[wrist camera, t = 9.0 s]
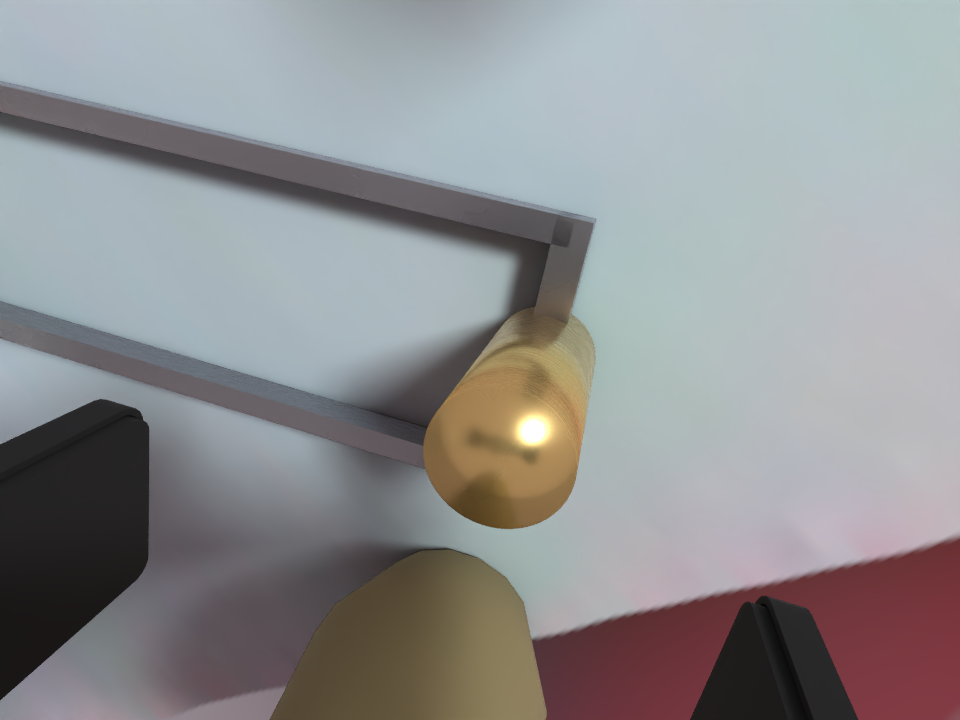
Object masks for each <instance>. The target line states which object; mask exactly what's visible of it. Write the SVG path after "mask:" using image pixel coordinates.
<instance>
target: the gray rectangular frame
mask: <svg viewBox="0 0 960 720" xmlns="http://www.w3.org/2000/svg"><path fill="white" fill-rule="evenodd" d="M0 112H3V113H7V114H12V115H16V116H20V117H24V118H28V119H32V120H37V121H41V122H45V123H49V124H53V125H57V126H62V127H66V128H70V129H74V130H78V131H82V132H87V133H91V134H95V135H99V136H103V137H107V138H111V139H116V140H120V141H124V142H128V143H132V144H136V145H141V146H145V147H149V148H153V149H157V150H161V151H166V152H170V153H174V154H178V155H182V156H186V157H191V158H195V159H199V160H203V161H207V162H211V163H216V164H220V165H224V166H228V167H232V168H236V169H241V170H245V171H249V172H253V173H257V174H261V175H265V176H270V177H274V178H278V179H282V180H286V181H290V182H295V183H299V184H303V185H307V186H311V187H315V188H320V189H324V190H328V191H332V192H336V193H340V194H345V195H349V196H353V197H357V198H361V199H365V200H370V201H374V202H378V203H382V204H386V205H390V206H395V207H399V208H403V209H407V210H411V211H415V212H419V213H424V214H428V215H432V216H436V217H440V218H444V219H449V220H453V221H457V222H461V223H465V224H469V225H474V226H478V227H482V228H486V229H490V230H494V231H499V232H503V233H507V234H511V235H515V236H519V237H524V238H528V239H532V240H536V241H540V242H544V243H548V244H550V248H549V252H548V256H547V261H546V265H545V269H544V273H543V277H542V281H541V285H540V290H539V294H538V298H537V302H536V306H534V307H530V308H526V309H523V310H521V311H519V312H517V313H515V314H514V315H512V316H511V317H510V318H509V319H508V320H506V322H505V323H504V324H503V325H502V326H501V328H500V329H499V330H498V332H497V333H496V334H495V336H494V337H493V338H492V340H491V341H490V342H489V343H488V345H487V346H486V347H485V349H484V350H483V351H482V353H481V354H480V355H479V357H478V358H477V359H476V361H475V362H474V363H473V365H472V366H471V367H470V369H469V370H468V371H467V373H466V374H465V375H464V376H463V378H462V379H461V380H460V382H459V383H458V384H457V386H456V387H455V388H454V390H453V391H452V392H451V394H450V395H449V396H448V398H447V399H446V400H445V402H444V403H443V404H442V406H441V407H440V408H439V409H438V411H437V412H436V413H435V415H434V416H433V418H432V420H431V421H430V423H429V426H428V428H425V427H422V426H418V425H415V424H412V423H408V422H405V421H402V420H398V419H395V418H391V417H388V416H385V415H381V414H378V413H375V412H371V411H368V410H365V409H361V408H358V407H354V406H351V405H348V404H344V403H341V402H338V401H334V400H331V399H327V398H324V397H321V396H317V395H314V394H311V393H307V392H304V391H300V390H297V389H294V388H290V387H287V386H284V385H280V384H277V383H274V382H270V381H267V380H263V379H260V378H257V377H253V376H250V375H247V374H243V373H240V372H236V371H233V370H230V369H226V368H223V367H220V366H216V365H213V364H209V363H206V362H203V361H199V360H196V359H193V358H189V357H186V356H183V355H179V354H176V353H172V352H169V351H166V350H162V349H159V348H156V347H152V346H149V345H145V344H142V343H139V342H135V341H132V340H129V339H125V338H122V337H118V336H115V335H112V334H108V333H105V332H102V331H98V330H95V329H92V328H88V327H85V326H81V325H78V324H75V323H71V322H68V321H65V320H61V319H58V318H54V317H51V316H48V315H44V314H41V313H38V312H34V311H31V310H28V309H24V308H21V307H17V306H14V305H11V304H7V303H4V302H1V301H0V338H2V339H5V340H8V341H11V342H15V343H18V344H21V345H24V346H28V347H31V348H34V349H37V350H41V351H44V352H47V353H50V354H54V355H57V356H60V357H63V358H67V359H70V360H73V361H76V362H80V363H83V364H86V365H89V366H93V367H96V368H99V369H102V370H106V371H109V372H112V373H115V374H119V375H122V376H125V377H128V378H132V379H135V380H138V381H141V382H145V383H148V384H151V385H154V386H158V387H161V388H164V389H167V390H171V391H174V392H177V393H180V394H184V395H187V396H190V397H193V398H197V399H200V400H203V401H206V402H210V403H213V404H216V405H219V406H223V407H226V408H229V409H232V410H236V411H239V412H242V413H245V414H249V415H252V416H255V417H258V418H262V419H265V420H268V421H271V422H275V423H278V424H281V425H284V426H288V427H291V428H294V429H297V430H301V431H304V432H307V433H310V434H314V435H317V436H320V437H323V438H327V439H330V440H333V441H336V442H340V443H343V444H346V445H349V446H353V447H356V448H359V449H362V450H366V451H369V452H372V453H375V454H379V455H382V456H385V457H388V458H392V459H395V460H398V461H401V462H405V463H408V464H411V465H414V466H418V467H421V468H424V469H426V471H427V474H428V476H429V479H430V481H431V483H432V485H433V486H434V488H435V490H436V491H437V492H438V494H439V495H440V496H441V498H442V499H443V500H444V501H445V502H446V503H447V504H448V505H449V506H450V507H451V508H453V509H454V510H455V511H456V512H458V513H459V514H461V515H462V516H464V517H466V518H468V519H470V520H472V521H474V522H476V523H479V524H482V525H485V526H489V527H494V528H501V529H515V528H523V527H528V526H531V525H534V524H537V523H540V522H542V521H544V520H545V519H547V518H549V517H550V516H552V515H553V514H554V513H556V512H557V511H558V510H559V509H560V508H561V507H562V506H563V504H564V503H565V502H566V500H567V499H568V497H569V495H570V494H571V492H572V489H573V486H574V484H575V479H576V474H577V468H578V462H579V456H580V451H581V445H582V439H583V433H584V427H585V421H586V415H587V409H588V403H589V397H590V391H591V385H592V379H593V373H594V367H595V358H596V356H595V347H594V343H593V340H592V338H591V336H590V334H589V332H588V330H587V329H586V327H585V326H584V325H583V324H582V323H581V322H580V321H579V320H578V319H577V318H576V317H575V316H573V315H571V313H572V309H573V306H574V302H575V298H576V294H577V290H578V287H579V283H580V279H581V275H582V272H583V268H584V264H585V260H586V257H587V253H588V249H589V245H590V241H591V238H592V234H593V230H594V226H595V223H596V219H595V218H590V217H586V216H582V215H577V214H573V213H569V212H564V211H560V210H556V209H552V208H547V207H543V206H539V205H534V204H530V203H526V202H521V201H517V200H513V199H508V198H504V197H500V196H495V195H491V194H487V193H482V192H478V191H474V190H469V189H465V188H461V187H456V186H452V185H448V184H443V183H439V182H435V181H430V180H426V179H422V178H417V177H413V176H409V175H404V174H400V173H396V172H391V171H387V170H383V169H378V168H374V167H370V166H365V165H361V164H357V163H352V162H348V161H344V160H340V159H335V158H331V157H327V156H322V155H318V154H314V153H309V152H305V151H301V150H296V149H292V148H288V147H283V146H279V145H275V144H270V143H266V142H262V141H257V140H253V139H249V138H244V137H240V136H236V135H231V134H227V133H223V132H218V131H214V130H210V129H205V128H201V127H197V126H192V125H188V124H184V123H179V122H175V121H171V120H166V119H162V118H158V117H153V116H149V115H145V114H140V113H136V112H132V111H128V110H123V109H119V108H115V107H110V106H106V105H102V104H97V103H93V102H89V101H84V100H80V99H76V98H71V97H67V96H63V95H58V94H54V93H50V92H45V91H41V90H37V89H32V88H28V87H24V86H19V85H15V84H11V83H6V82H2V81H0Z"/></svg>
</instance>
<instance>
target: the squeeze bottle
mask: <svg viewBox="0 0 960 720" xmlns="http://www.w3.org/2000/svg"><path fill="white" fill-rule="evenodd" d="M546 715H547V712H546V707H545V703H544V698H543V693H542V688H541V683H540V679H539V674H538V669H537V664H536V659H535V654H534V650H533V645H532V640H531V635H530V631H529V626H528V621H527V616H526V612H525V607H524V602H523V601H522V599H521V598H520V596H519V595H518V594H517V592H516V591H515V589H514V588H513V586H512V585H511V584H510V582H509V581H508V579H507V578H506V577H505V576H503V575H502V574H501V573H499V572H498V571H496V570H495V569H494V568H492V567H491V566H489V565H488V564H487V563H485V562H484V561H482V560H481V559H479V558H475V557H472V556H469V555H466V554H463V553H460V552H456V551H453V550H422V551H419V552H417V553H415V554H413V555H410V556H408V557H406V558H404V559H402V560H400V561H397V562H396V563H395V564H393V565H392V566H390V567H389V568H387V569H386V570H384V571H383V572H381V573H380V574H378V575H377V576H376V577H374V578H373V579H371V580H370V581H368V582H367V583H365V584H364V585H362V586H361V587H359V588H358V589H356V590H355V591H354V592H352V593H351V594H349V595H348V596H346V597H345V598H343V599H342V600H340V601H339V602H337V603H336V604H335V605H334V607H333V608H332V609H331V611H330V612H329V613H328V615H327V616H326V617H325V619H324V620H323V621H322V623H321V624H320V625H319V627H318V628H317V629H316V631H315V632H314V634H313V636H312V638H311V640H310V642H309V644H308V646H307V648H306V650H305V652H304V654H303V656H302V658H301V660H300V662H299V663H298V665H297V667H296V669H295V671H294V673H293V675H292V677H291V679H290V681H289V683H288V685H287V687H286V689H285V691H284V693H283V695H282V697H281V699H280V701H279V703H278V704H277V706H276V709H275V710H274V712H273V714H272V716H271V718H270V720H545V719H546Z"/></svg>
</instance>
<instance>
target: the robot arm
mask: <svg viewBox="0 0 960 720" xmlns="http://www.w3.org/2000/svg"><path fill="white" fill-rule="evenodd" d="M148 526H149V426H148V424H147V423H146V422H145V421H143V416H142V415H141V413H140V411H138V410H137V409H135V408H132V407H129V406H125V405H122V404H119V403H115V402H112V401H109V400H103V399H99V400H96V401H93V402H91V403H89V404H86V405H84V406H82V407H80V408H78V409H76V410H73V411H71V412H69V413H67V414H65V415H63V416H61V417H58V418H56V419H54V420H52V421H50V422H48V423H46V424H43V425H41V426H39V427H37V428H35V429H33V430H30V431H28V432H26V433H24V434H22V435H20V436H18V437H15V438H13V439H11V440H9V441H7V442H5V443H2V444H0V700H1V699H2V698H3V697H5V696H6V695H7V694H8V693H9V692H10V691H11V690H12V689H14V688H15V687H16V686H17V685H18V684H19V683H20V682H21V681H23V680H24V679H25V678H26V677H27V676H28V675H29V674H31V673H32V672H33V671H34V670H35V669H36V668H37V667H38V666H40V665H41V664H42V663H43V662H44V661H45V660H46V659H48V658H49V657H50V656H51V655H52V654H53V653H54V652H55V651H57V650H58V649H59V648H60V647H61V646H62V645H63V644H64V643H66V642H67V641H68V640H69V639H70V638H71V637H72V636H74V635H75V634H76V633H77V632H78V631H79V630H80V629H81V628H83V627H84V626H85V625H86V624H87V623H88V622H89V621H91V620H92V619H93V618H94V617H95V616H96V615H97V614H98V613H100V612H101V611H102V610H103V609H104V608H105V607H106V606H107V605H109V604H110V603H111V602H112V601H113V600H114V599H115V598H117V597H118V596H119V595H120V594H121V593H122V592H123V591H124V590H126V589H127V588H128V587H129V586H130V585H131V584H132V583H134V582H135V581H136V580H137V579H138V578H139V576H140V575H141V573H142V572H143V570H144V568H145V566H146V564H147V561H148ZM690 720H858V718H857V716H856V714H855V711H854V709H853V707H852V704H851V702H850V700H849V698H848V696H847V693H846V691H845V689H844V686H843V684H842V682H841V680H840V677H839V675H838V673H837V671H836V668H835V666H834V664H833V662H832V659H831V657H830V655H829V653H828V650H827V648H826V646H825V644H824V641H823V639H822V637H821V634H820V632H819V630H818V628H817V625H816V623H815V621H814V619H813V617H812V615H811V613H810V611H809V610H808V609H806V608H804V607H801V606H798V605H795V604H791V603H788V602H784V601H781V600H778V599H774V598H771V597H767V596H761V597H760V598H759V599H758V600H757V601H756V603H755V604H754V603H750V602H745V603H744V604H743V605H742V606H741V608H740V610H739V612H738V615H737V617H736V619H735V621H734V624H733V626H732V628H731V630H730V632H729V635H728V637H727V639H726V641H725V644H724V646H723V648H722V650H721V652H720V655H719V657H718V659H717V661H716V663H715V666H714V668H713V670H712V672H711V675H710V677H709V679H708V681H707V683H706V686H705V688H704V690H703V692H702V695H701V697H700V699H699V701H698V703H697V706H696V708H695V710H694V712H693V715H692V717H691V719H690Z"/></svg>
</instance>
